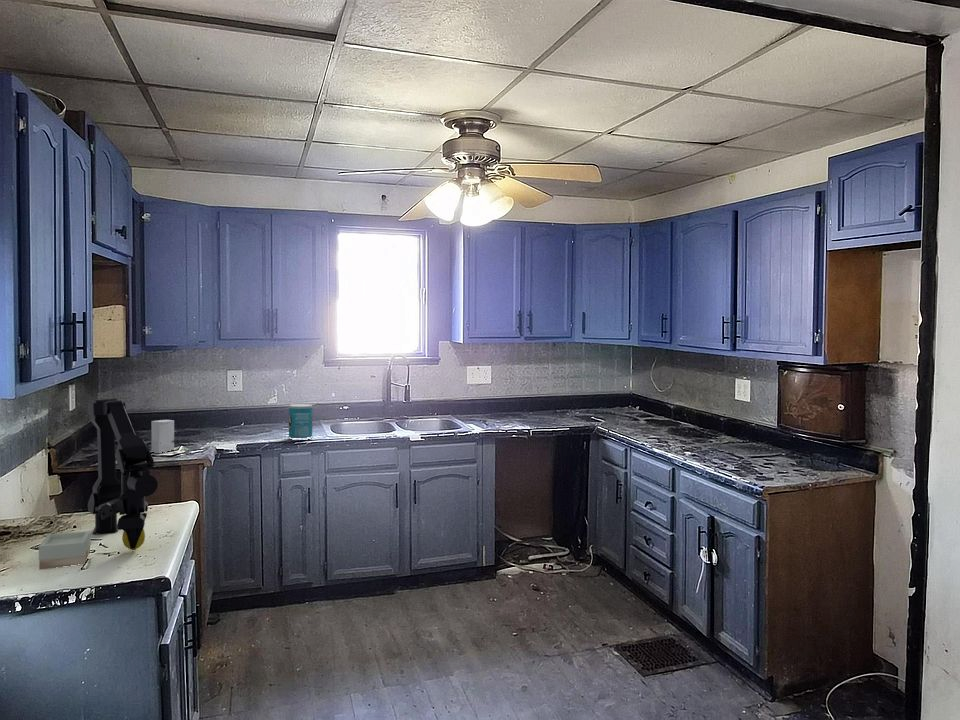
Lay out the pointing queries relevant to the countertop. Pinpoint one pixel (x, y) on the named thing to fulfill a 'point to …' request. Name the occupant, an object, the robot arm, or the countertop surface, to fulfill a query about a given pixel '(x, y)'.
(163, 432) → the skincare box
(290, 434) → the food can
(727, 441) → the countertop surface
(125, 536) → the lemon
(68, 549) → the dish block
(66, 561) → the base block
